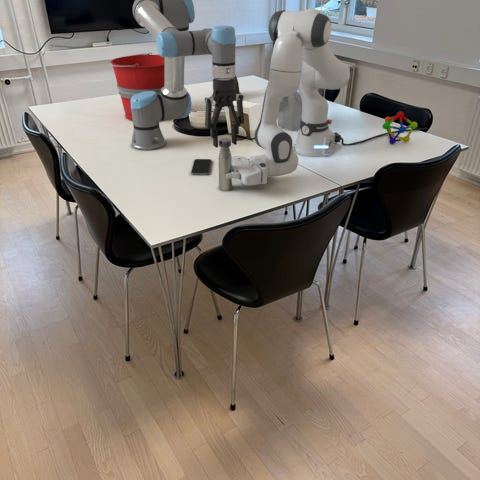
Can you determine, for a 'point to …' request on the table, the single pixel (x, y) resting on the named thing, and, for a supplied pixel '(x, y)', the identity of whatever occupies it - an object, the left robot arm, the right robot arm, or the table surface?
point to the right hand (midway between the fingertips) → (223, 172)
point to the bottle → (225, 169)
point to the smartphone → (201, 166)
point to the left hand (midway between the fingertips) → (224, 144)
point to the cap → (224, 142)
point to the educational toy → (398, 128)
